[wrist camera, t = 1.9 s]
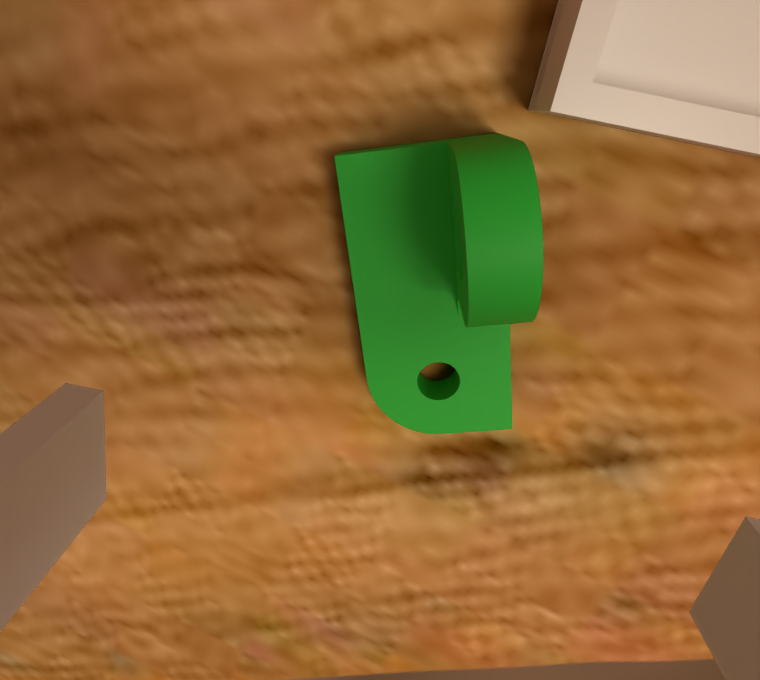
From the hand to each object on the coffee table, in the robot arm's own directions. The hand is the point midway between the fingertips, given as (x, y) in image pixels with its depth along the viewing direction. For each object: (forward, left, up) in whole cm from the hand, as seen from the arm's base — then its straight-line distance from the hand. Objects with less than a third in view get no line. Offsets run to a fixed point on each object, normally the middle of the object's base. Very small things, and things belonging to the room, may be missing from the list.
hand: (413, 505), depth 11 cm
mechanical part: (+1, 0, -14) cm, 14 cm away
